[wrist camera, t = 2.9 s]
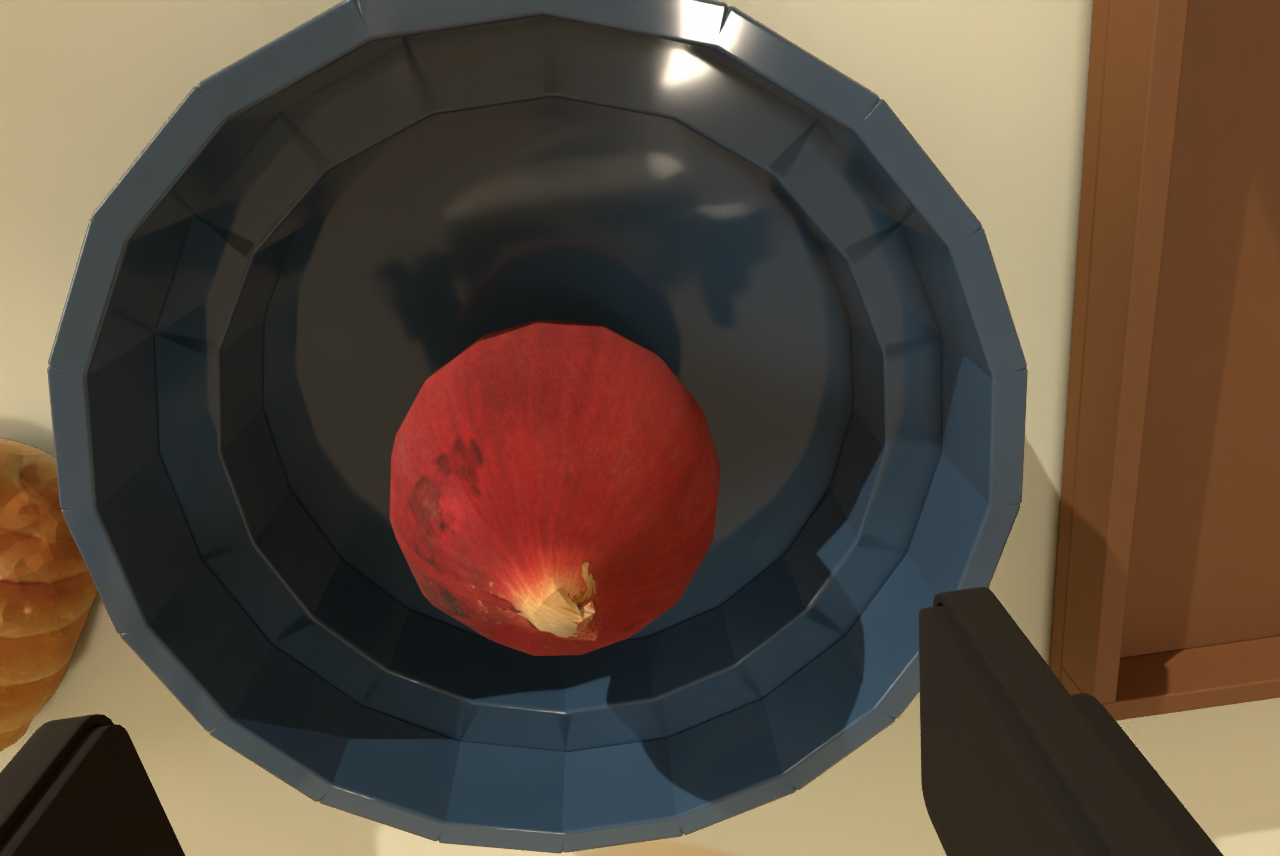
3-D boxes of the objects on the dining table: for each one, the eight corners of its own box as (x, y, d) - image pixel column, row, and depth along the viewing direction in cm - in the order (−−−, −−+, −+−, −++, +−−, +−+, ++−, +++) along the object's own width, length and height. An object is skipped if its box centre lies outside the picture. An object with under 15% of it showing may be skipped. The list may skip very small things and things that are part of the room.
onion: (486, 551, 20) (426, 831, 13) (385, 326, 18) (244, 511, 11) (724, 480, 20) (801, 728, 13) (651, 240, 18) (692, 373, 10)
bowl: (62, 65, 16) (-148, 69, 12) (920, -65, 16) (1051, -113, 11) (311, 729, 23) (240, 900, 18) (925, 641, 23) (1010, 791, 18)
